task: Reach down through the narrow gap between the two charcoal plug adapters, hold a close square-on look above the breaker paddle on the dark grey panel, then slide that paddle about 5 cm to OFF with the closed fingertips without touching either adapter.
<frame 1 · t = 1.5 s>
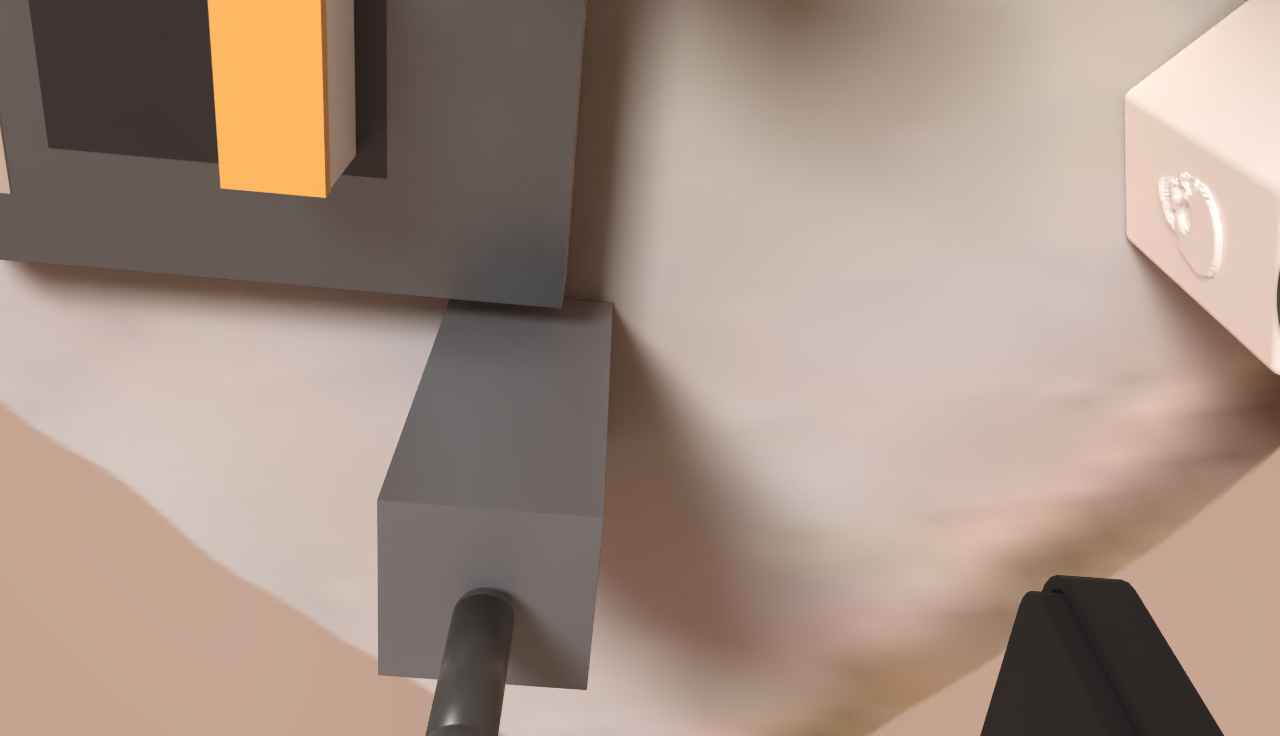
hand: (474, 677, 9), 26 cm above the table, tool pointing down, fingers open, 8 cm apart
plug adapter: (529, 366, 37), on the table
jar: (1253, 138, 34), on the table
breaker panel: (263, 8, 32), on the table
breaker paddle: (288, 51, 28), point 5 cm above the table, slide at 0.0 cm
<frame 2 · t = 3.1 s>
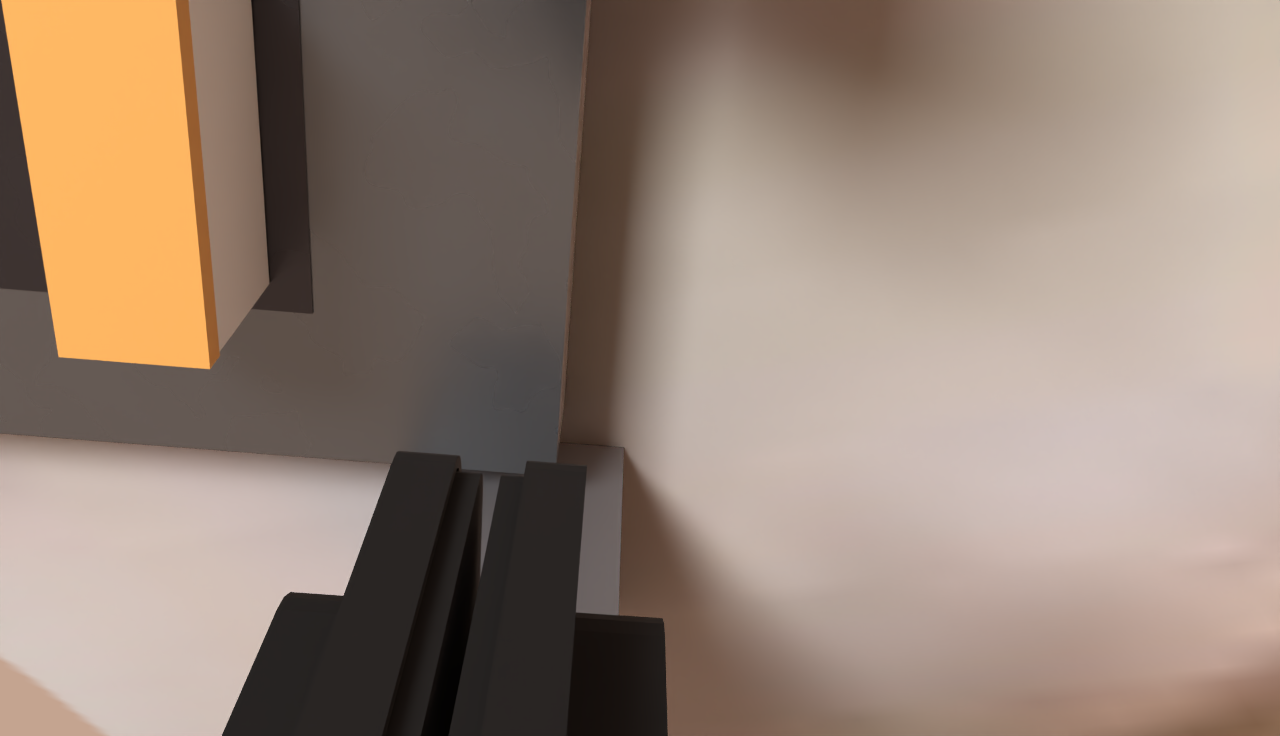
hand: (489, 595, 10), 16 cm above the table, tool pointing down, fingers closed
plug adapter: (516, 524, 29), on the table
breaker panel: (147, 77, 24), on the table
breaker paddle: (156, 157, 19), point 5 cm above the table, slide at 0.0 cm
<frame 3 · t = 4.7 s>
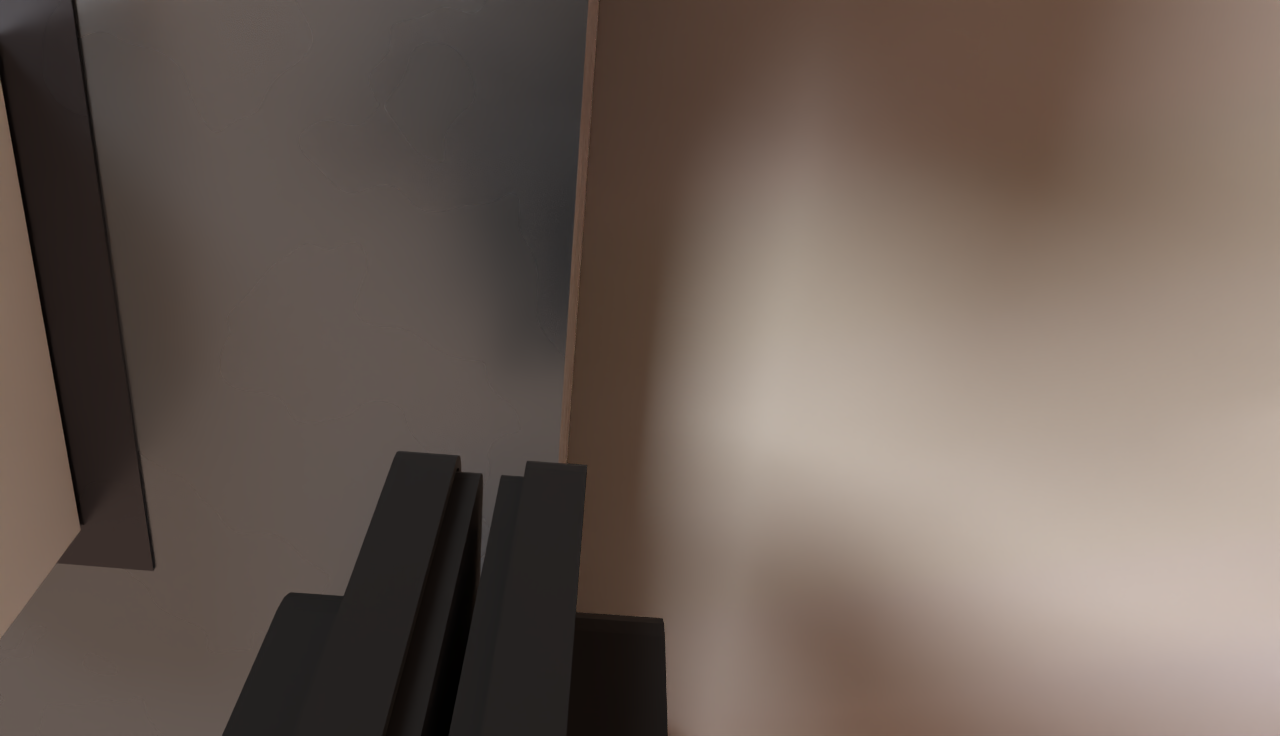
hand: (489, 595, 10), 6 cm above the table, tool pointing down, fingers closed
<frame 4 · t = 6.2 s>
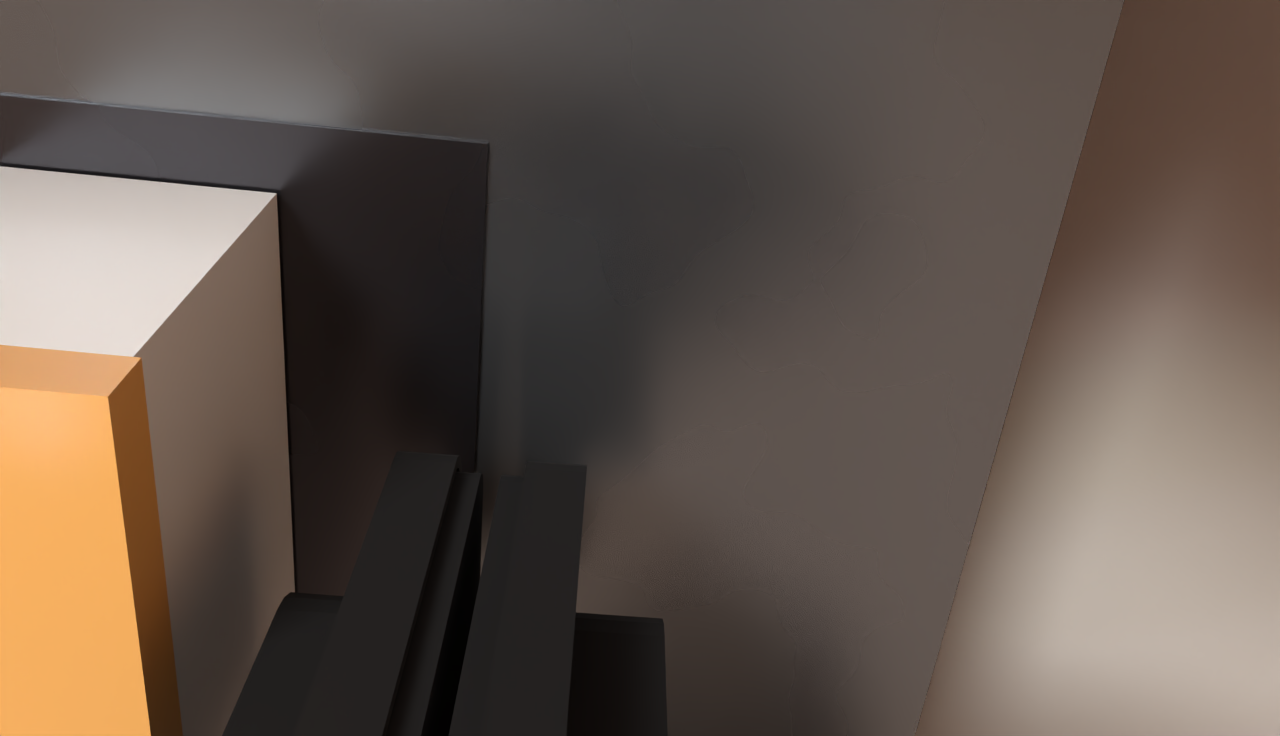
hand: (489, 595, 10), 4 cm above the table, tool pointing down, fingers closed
breaker panel: (174, 328, 14), on the table
breaker paddle: (85, 593, 10), point 5 cm above the table, slide at 1.0 cm, touching gripper
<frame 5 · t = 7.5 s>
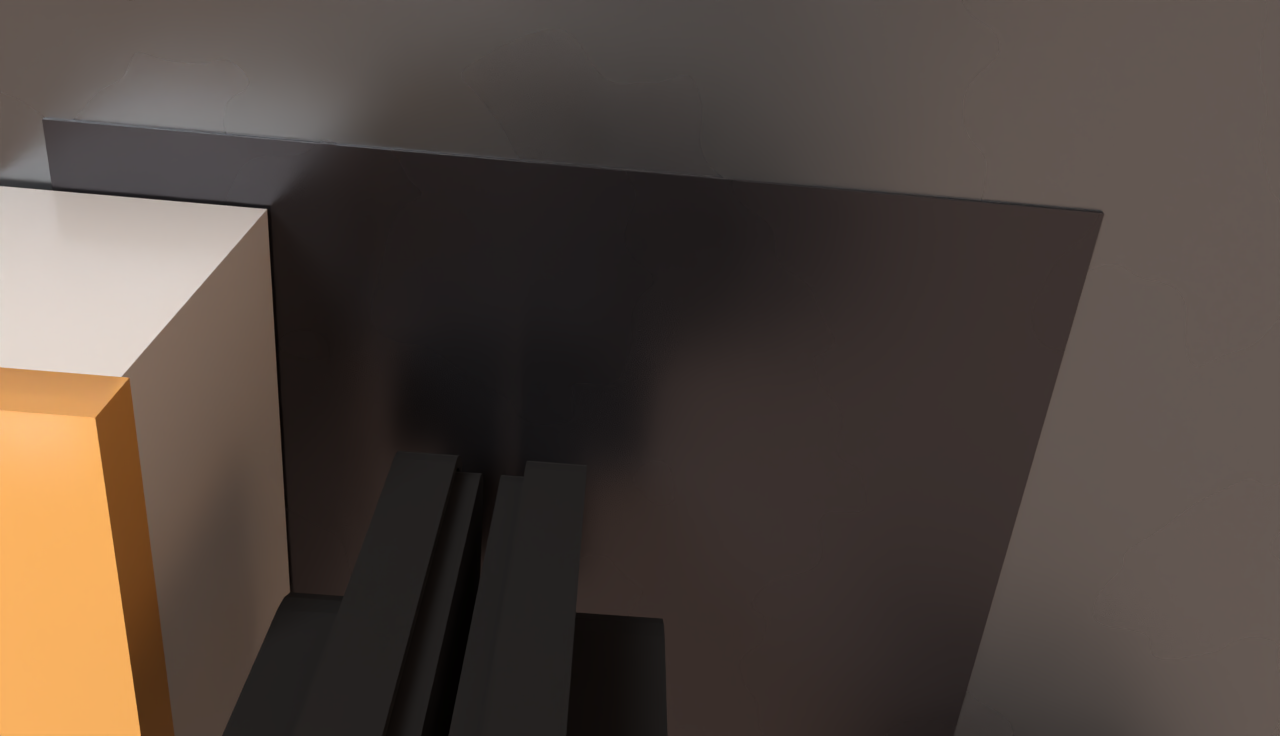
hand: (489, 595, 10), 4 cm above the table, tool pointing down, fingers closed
breaker panel: (615, 379, 14), on the table
breaker paddle: (79, 611, 10), point 5 cm above the table, slide at 6.4 cm, touching gripper
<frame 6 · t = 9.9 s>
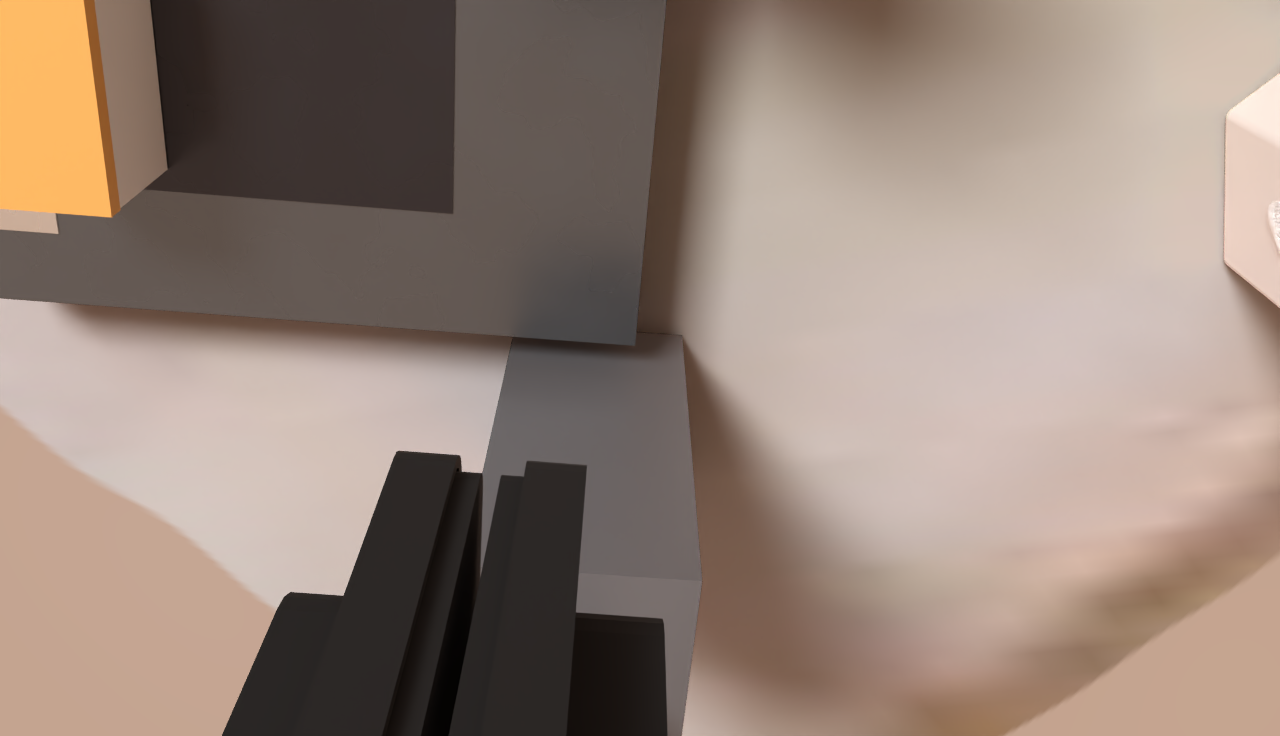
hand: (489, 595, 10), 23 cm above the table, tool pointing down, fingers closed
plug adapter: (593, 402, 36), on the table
breaker panel: (319, 35, 31), on the table
breaker paddle: (71, 61, 26), point 5 cm above the table, slide at 6.4 cm
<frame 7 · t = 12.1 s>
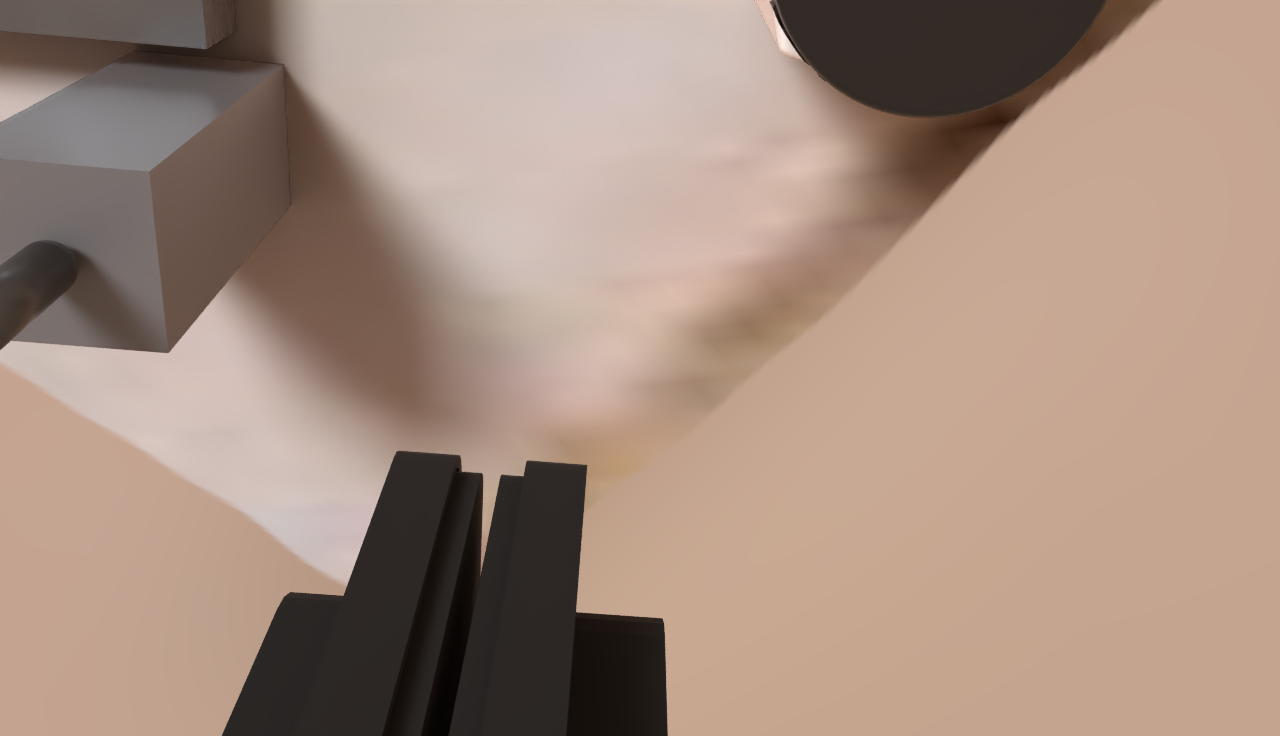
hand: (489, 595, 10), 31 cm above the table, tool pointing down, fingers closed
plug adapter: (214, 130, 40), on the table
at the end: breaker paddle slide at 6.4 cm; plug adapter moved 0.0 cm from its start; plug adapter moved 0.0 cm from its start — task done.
